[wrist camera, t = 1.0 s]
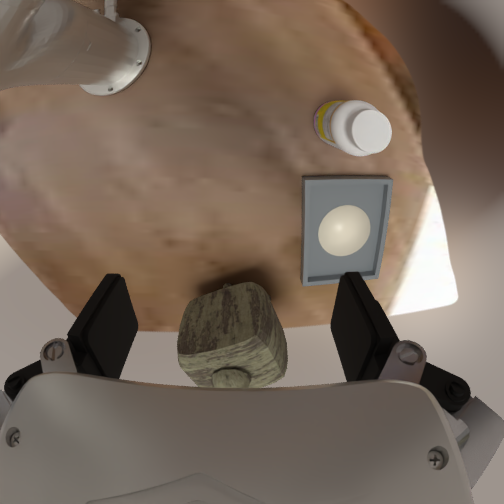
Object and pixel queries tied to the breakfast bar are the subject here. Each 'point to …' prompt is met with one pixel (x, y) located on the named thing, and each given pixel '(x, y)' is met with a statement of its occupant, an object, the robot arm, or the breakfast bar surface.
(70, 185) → the breakfast bar surface
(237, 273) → the breakfast bar surface
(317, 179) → the tray
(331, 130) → the supplement bottle
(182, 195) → the breakfast bar surface
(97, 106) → the breakfast bar surface
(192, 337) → the tabletop clock
